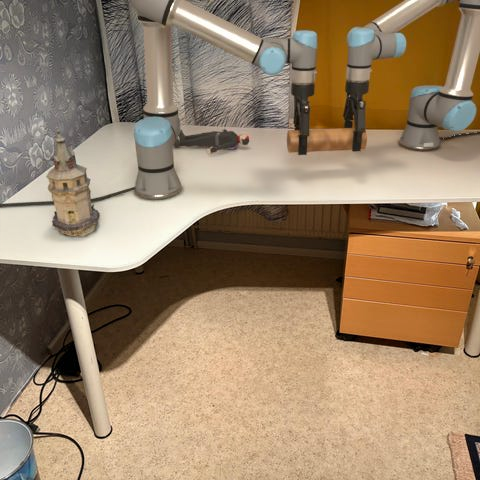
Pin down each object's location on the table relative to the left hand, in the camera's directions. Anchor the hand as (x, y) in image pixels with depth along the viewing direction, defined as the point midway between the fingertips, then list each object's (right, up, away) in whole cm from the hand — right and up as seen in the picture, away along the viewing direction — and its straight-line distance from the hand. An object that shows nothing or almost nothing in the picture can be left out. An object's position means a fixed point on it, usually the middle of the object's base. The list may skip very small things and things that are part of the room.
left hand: (300, 150), depth 183 cm
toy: (-32, +7, +33) cm, 46 cm away
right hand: (+18, +2, +1) cm, 18 cm away
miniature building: (-68, -27, -27) cm, 78 cm away
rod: (+9, 0, +1) cm, 9 cm away
